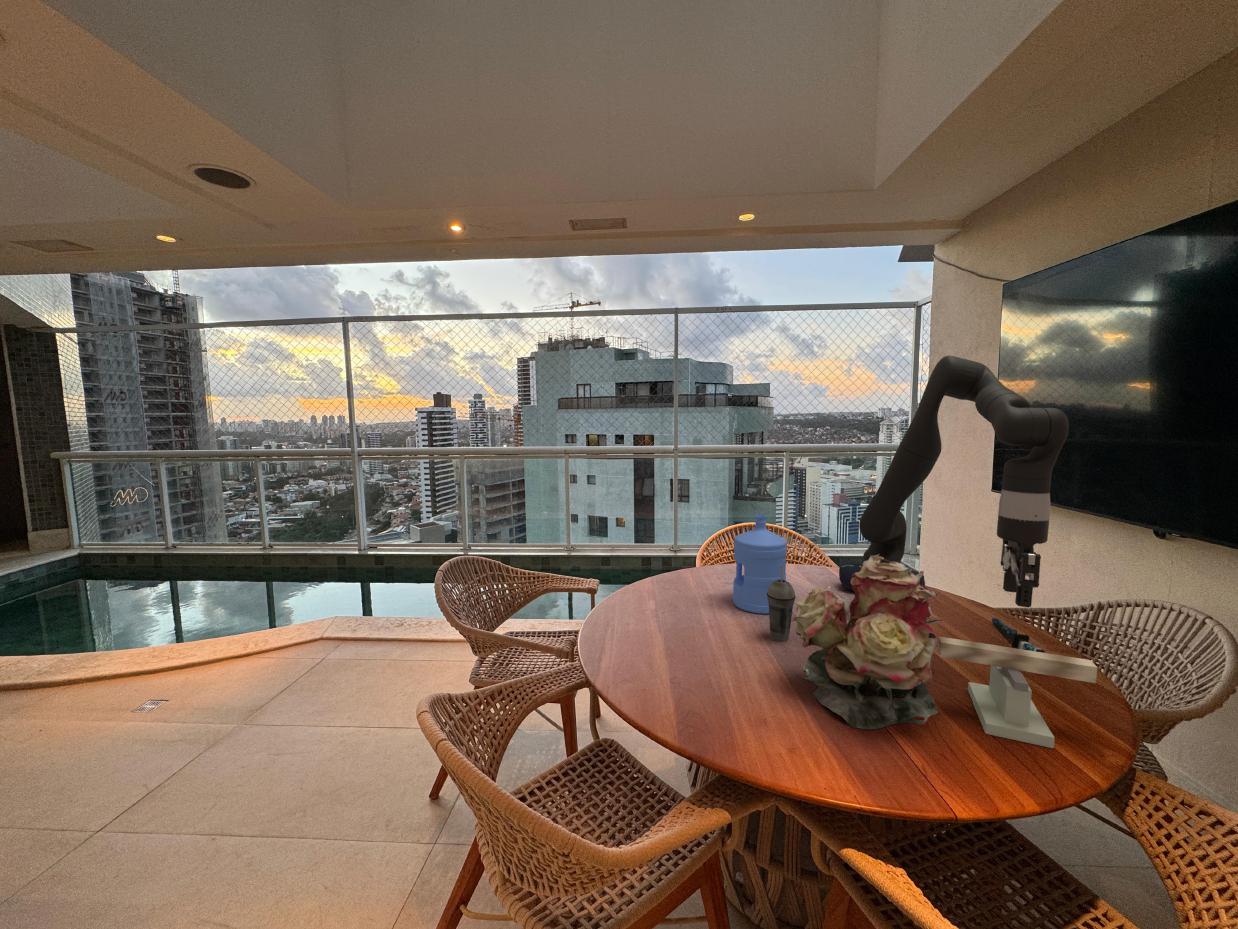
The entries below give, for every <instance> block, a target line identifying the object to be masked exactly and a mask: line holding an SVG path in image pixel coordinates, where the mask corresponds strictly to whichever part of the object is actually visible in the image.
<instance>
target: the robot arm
mask: <svg viewBox="0 0 1238 929" xmlns="http://www.w3.org/2000/svg"><path fill="white" fill-rule="evenodd" d="M945 396H946V397H950V398H953V399H957V400H961V401H970V402H973V403H975V404H974V405H975V409H976V411H977V412H978V414H979V415H980V416H982V418H984V419H985V420H986V421H988V422H989V423H990V424H991V426H992V429H993V432H994V434H995V438H996V439H997V441H999V442H1001V443H1002V444H1004V445H1008V446H1012V447H1017V446H1018V447H1032V449H1031V451H1030V452H1029V454H1027V455H1026V456H1023V457H1017V458H1011V459H1009V460H1007V461H1005V463H1004V465H1003V470H1002V471H1003V472H1002V482H1001V491H1000V492H1001V493H1000V497H999V501H998V512H997V526H996V535H997V537H998V538H1000V539H1001V540H1002V547H1001V558H1000V559H1001V560H1000V566H1001V567H1002V571H1003V573H1004V574H1003V583H1002V584H1003V585H1002V590H1004V592H1008V593H1015V599H1014V601H1015V604H1016V606H1018V607H1023V608H1031V607H1032V602H1033V590H1034V588H1039V586H1040V574H1041V573H1040V572H1041V559H1042V556H1041V554H1040V553H1037V552H1035V550H1034V548H1035V547H1034V546H1035V545H1037V544H1039V545H1042V544H1045V543H1047V542H1048V537H1049V528H1050V516H1051V493H1050V492H1051V487H1052V486H1051V484H1052V473H1053V469H1054V466H1055V464H1056V462H1057V459H1058V457H1059V454H1060V453H1061V450H1062V448H1063V446H1064V445H1065V442H1066V440H1067V438H1068V435H1069V431H1070V422H1069V418H1068V417H1067V415H1066V414H1065V412H1064V411H1062V409H1059V408H1056V407H1055V408H1054V407H1032V405H1031V403H1030V402H1029V401H1028V400H1027V399H1026V398H1025V397H1024V396H1022V395H1020V394H1019V393H1017V392H1015V391H1014V390H1012V389H1010V388H1008V387H1006V386H1005V385H1004V384H1003V383H1002V382H1001V381H1000V380H999V378H997V376H996V375H995V374H994V373H993V372H992V371H991V369H990V368H989V367H988V366H986V365H985V364H983V363H981V362H979V361H975V360H970V359H967V358H963V357H959V356H954V355H945V356H943V357H941V358H940V360H938V362H937V363H936V364H935V366H934V367H933V370H932V371H931V374H930V376H929V378H928V380H927V384H926V386H925V389H924V391H923V394H922V395H921V398H920V401H919V404H918V406H917V408H916V411H915V414H914V415H913V418H912V420H911V421H910V423H909V426H908V428H907V429H906V432H905V434H904V435H903V438H902V439H901V441H900V443H899V445H898V447H897V450H896V451H895V453H894V455H893V458H892V459H891V462H890V464H889V467H888V468H887V470H886V473H885V474H884V476H883V478H882V481H881V482H880V485H879V487H878V488H877V491H876V493H875V494H874V496H873V497H872V498H871V501H870V502H869V503H868V505H867V506H866V508H865V509H864V511H863V513H862V515H861V517H860V519H859V523H858V525H859V527H858V528H859V532H860V535H861V536H862V537H863V538H864V539H865V540H866V541H867V542H870V545H869V546H868V547H867V549H866V550H865V551H864V552H863V555H862V562H864V561H867V560H869V558H870V557H871V556H876V555H877V554H879V555H878V556H880V557H882V558H884V559H885V560H888V561H893V562H894V561H895V562H898V563H901V564H902V560H903V558H904V556H905V550H906V549H905V547H906V541H907V540H906V539H907V526H908V525H907V520H906V517H905V516H904V514H903V513H902V511H901V509H902V507H903V506H904V504H905V503H906V501H907V500H908V499H909V497H910V496H911V495H912V494H913V493H914V492H915V491H916V490H917V489H918V488H919V487H920V486H921V485H922V484H923V482H924V481H925V480H926V479H928V477H929V475H930V474H931V472H932V470H933V469H934V467H935V465H936V463H937V461H938V459H939V458H940V455H941V452H942V440H941V438H942V436H941V433H940V427H939V419H938V418H939V417H938V416H939V410H940V406H941V403H942V402H943V399H944V397H945ZM870 555H871V556H870ZM1026 577H1028V579H1026Z"/></svg>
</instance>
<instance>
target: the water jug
mask: <svg viewBox="0 0 1238 929" xmlns="http://www.w3.org/2000/svg"><path fill="white" fill-rule="evenodd" d="M754 517H755V521H754V524H755V525H754V526H755V527H754V528H753V529H751V530H748V531H745V532H741V533H740V534H737V535H736V536H735V537H734V542H733V559H734V561H735V562H736V564H735V565H736V566H735V569H736V571H735V578H734V579H733V587H732V588H733V592H732V602H733V604H734V605H735V606H736V608H739V609H741V610H742V611H745V612H748V613H753V614H761V615H763V614H764V615H766V614H767V615H769V603H768V599H767V590H768V587H769V586H770V584H771V583H772V582H773V581H776V580H780V578H781V565H783V580H785V581H787V572H786V571H787V570H786V569H787V567H786V565H787V552H788V547H787V544H788V543H787V541H786V539H785V538H784V537H783V536H780V535H778V534H776V533H774V532H773V531H770V530H768V529H767V520H766V518H767V515H764V514H756V515H755V516H754Z"/></svg>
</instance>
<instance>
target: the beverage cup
mask: <svg viewBox="0 0 1238 929" xmlns="http://www.w3.org/2000/svg"><path fill="white" fill-rule="evenodd" d="M767 599H768V603H769V614H768V618H769V632H770V633H769V634H770V638H771V639H772V640H774V641H777V642H787V641H788V640H789V638H790V632H791V625H792V624H791V623H792V619H793V616H792V615H793V611H794V610H793V609H794V604H795V602H796V601H795V600H796V591H795V589H794V587H793V585H792V584H791V583H790V582H788V580H786V581H785V580H783V565H781V578H780V580H776V581H773V582H772V583H771V584H770V586H769V587H768V590H767Z"/></svg>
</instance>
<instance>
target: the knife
mask: <svg viewBox="0 0 1238 929" xmlns="http://www.w3.org/2000/svg"><path fill="white" fill-rule="evenodd" d="M991 622H992V624H993V626H994V627H995V628H996V629H997V630H998V631H999V632H1000V633H1001V634H1002V635H1003V636H1004V637H1005V638H1007V639H1008V640H1009V641H1010V642H1011V647H1010V648H1016V649H1022V650H1029V651H1035V652H1042V653H1046V651H1045V650H1044V649H1042V648H1040V647H1038V646H1036V645H1034V644H1032V643H1030V642H1029V641H1030V636H1029V635H1028V634H1021V633H1018V629H1013V628H1011V627H1010V626H1008V625H1007V624H1005V622H1003V621H1002V620H1001V619H999V618H997V617H993V618H992V619H991Z"/></svg>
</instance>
